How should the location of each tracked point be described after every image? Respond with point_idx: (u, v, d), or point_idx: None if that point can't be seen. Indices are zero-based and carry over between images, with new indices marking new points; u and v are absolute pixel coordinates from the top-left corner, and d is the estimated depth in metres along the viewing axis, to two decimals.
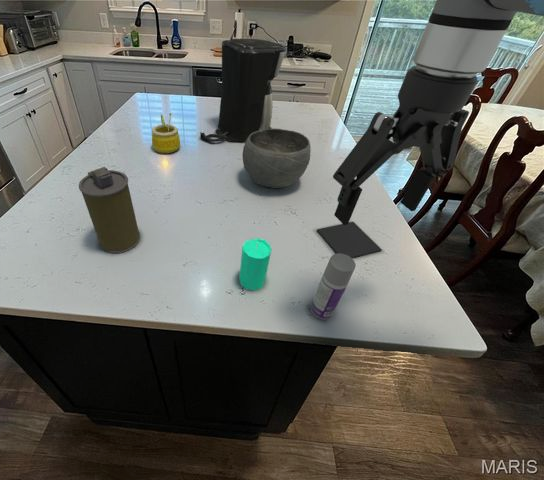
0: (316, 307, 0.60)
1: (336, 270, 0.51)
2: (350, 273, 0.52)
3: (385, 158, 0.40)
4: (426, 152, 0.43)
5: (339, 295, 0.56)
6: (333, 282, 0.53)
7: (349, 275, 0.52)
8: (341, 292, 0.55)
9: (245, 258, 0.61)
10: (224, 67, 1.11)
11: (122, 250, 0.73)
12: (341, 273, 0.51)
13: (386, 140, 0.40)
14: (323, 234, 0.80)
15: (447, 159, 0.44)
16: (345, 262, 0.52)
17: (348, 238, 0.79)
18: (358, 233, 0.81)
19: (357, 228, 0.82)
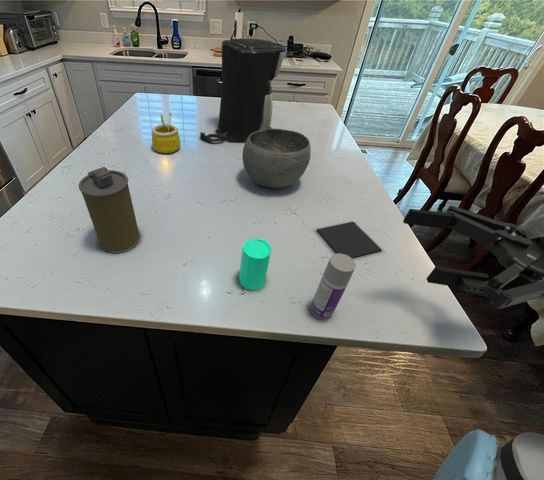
0: (316, 307, 0.60)
1: (336, 270, 0.51)
2: (350, 273, 0.52)
3: (485, 228, 0.48)
4: None
5: (339, 295, 0.56)
6: (333, 282, 0.53)
7: (349, 275, 0.52)
8: (341, 292, 0.55)
9: (245, 258, 0.61)
10: (224, 67, 1.11)
11: (122, 250, 0.73)
12: (341, 273, 0.51)
13: None
14: (323, 234, 0.80)
15: (513, 288, 0.39)
16: (345, 262, 0.52)
17: (348, 238, 0.79)
18: (358, 233, 0.81)
19: (357, 228, 0.82)
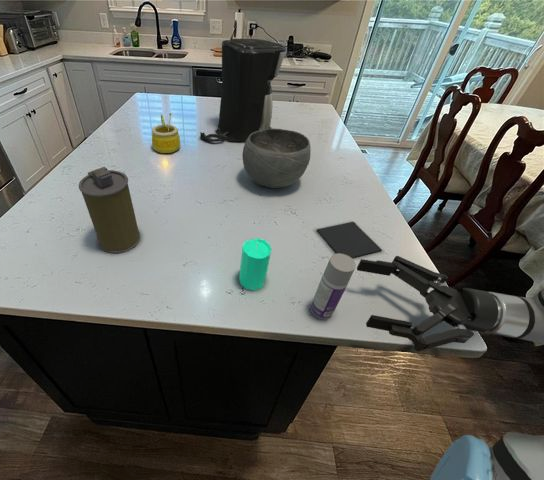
0: (316, 307, 0.60)
1: (336, 270, 0.51)
2: (350, 273, 0.52)
3: (421, 278, 0.57)
4: None
5: (339, 295, 0.56)
6: (333, 282, 0.53)
7: (349, 275, 0.52)
8: (341, 292, 0.55)
9: (245, 258, 0.61)
10: (224, 67, 1.11)
11: (122, 250, 0.73)
12: (341, 273, 0.51)
13: None
14: (323, 234, 0.80)
15: None
16: (345, 262, 0.52)
17: (348, 238, 0.79)
18: (358, 233, 0.81)
19: (357, 228, 0.82)
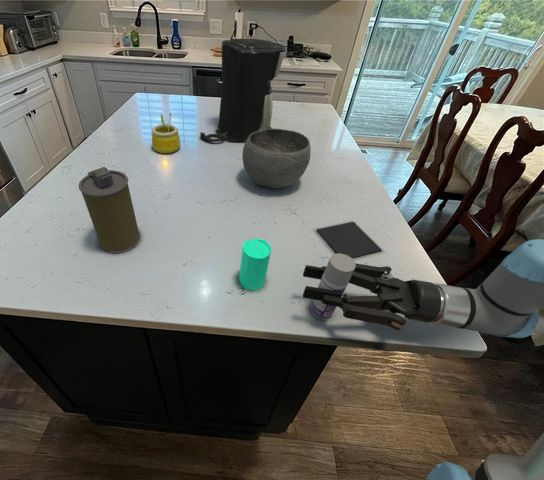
0: (316, 307, 0.60)
1: (336, 270, 0.51)
2: (350, 273, 0.52)
3: (368, 278, 0.57)
4: None
5: None
6: (333, 282, 0.53)
7: (349, 275, 0.52)
8: None
9: (245, 258, 0.61)
10: (224, 67, 1.11)
11: (122, 250, 0.73)
12: (341, 273, 0.51)
13: None
14: (323, 234, 0.80)
15: (360, 307, 0.52)
16: (345, 262, 0.52)
17: (348, 238, 0.79)
18: (358, 233, 0.81)
19: (357, 228, 0.82)
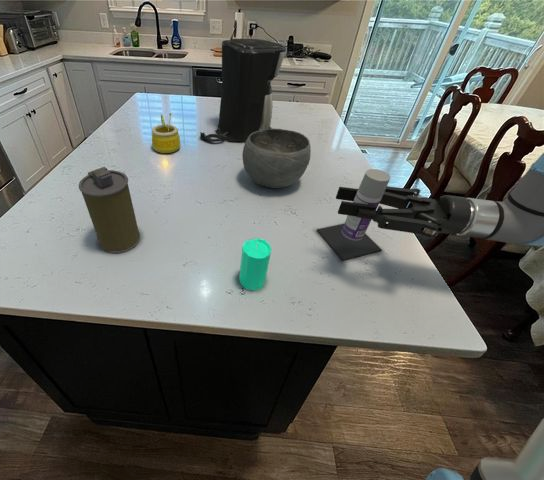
0: (349, 227, 0.63)
1: (373, 181, 0.55)
2: (385, 184, 0.55)
3: (399, 196, 0.60)
4: None
5: None
6: (368, 195, 0.57)
7: (384, 186, 0.55)
8: None
9: (245, 258, 0.61)
10: (224, 67, 1.11)
11: (122, 250, 0.73)
12: (377, 184, 0.55)
13: None
14: (323, 234, 0.80)
15: None
16: (380, 175, 0.56)
17: None
18: None
19: None
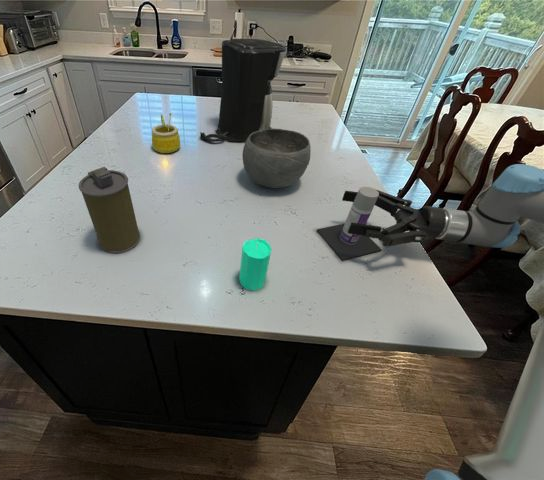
0: (346, 234, 0.76)
1: (364, 197, 0.68)
2: (375, 199, 0.68)
3: (391, 202, 0.74)
4: None
5: (365, 220, 0.72)
6: (361, 208, 0.69)
7: (374, 201, 0.68)
8: (367, 217, 0.71)
9: (245, 258, 0.61)
10: (224, 67, 1.11)
11: (122, 250, 0.73)
12: (368, 199, 0.68)
13: None
14: (323, 234, 0.80)
15: (394, 234, 0.65)
16: (371, 191, 0.69)
17: None
18: None
19: None
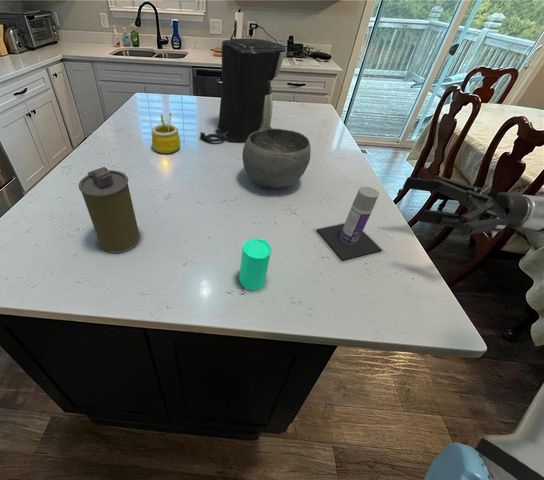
0: (346, 234, 0.76)
1: (364, 197, 0.68)
2: (375, 199, 0.68)
3: (460, 189, 0.68)
4: None
5: (365, 220, 0.72)
6: (361, 208, 0.69)
7: (374, 201, 0.68)
8: (367, 217, 0.71)
9: (245, 258, 0.61)
10: (224, 67, 1.11)
11: (122, 250, 0.73)
12: (368, 199, 0.68)
13: None
14: (323, 234, 0.80)
15: (474, 222, 0.60)
16: (371, 191, 0.69)
17: None
18: None
19: None
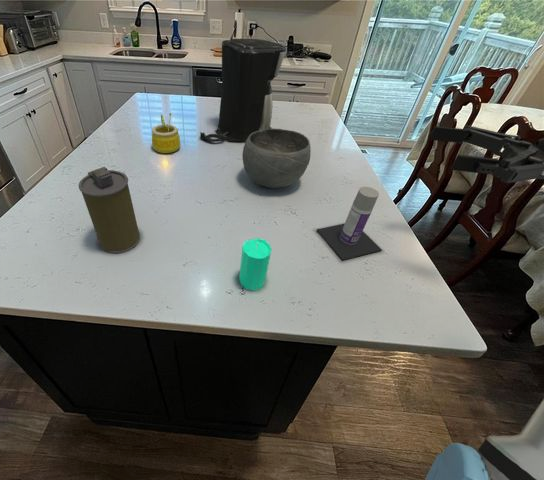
0: (346, 234, 0.76)
1: (364, 197, 0.68)
2: (375, 199, 0.68)
3: (495, 137, 0.60)
4: None
5: (365, 220, 0.72)
6: (361, 208, 0.69)
7: (374, 201, 0.68)
8: (367, 217, 0.71)
9: (245, 258, 0.61)
10: (224, 67, 1.11)
11: (122, 250, 0.73)
12: (368, 199, 0.68)
13: None
14: (323, 234, 0.80)
15: (517, 167, 0.51)
16: (371, 191, 0.69)
17: None
18: None
19: None
